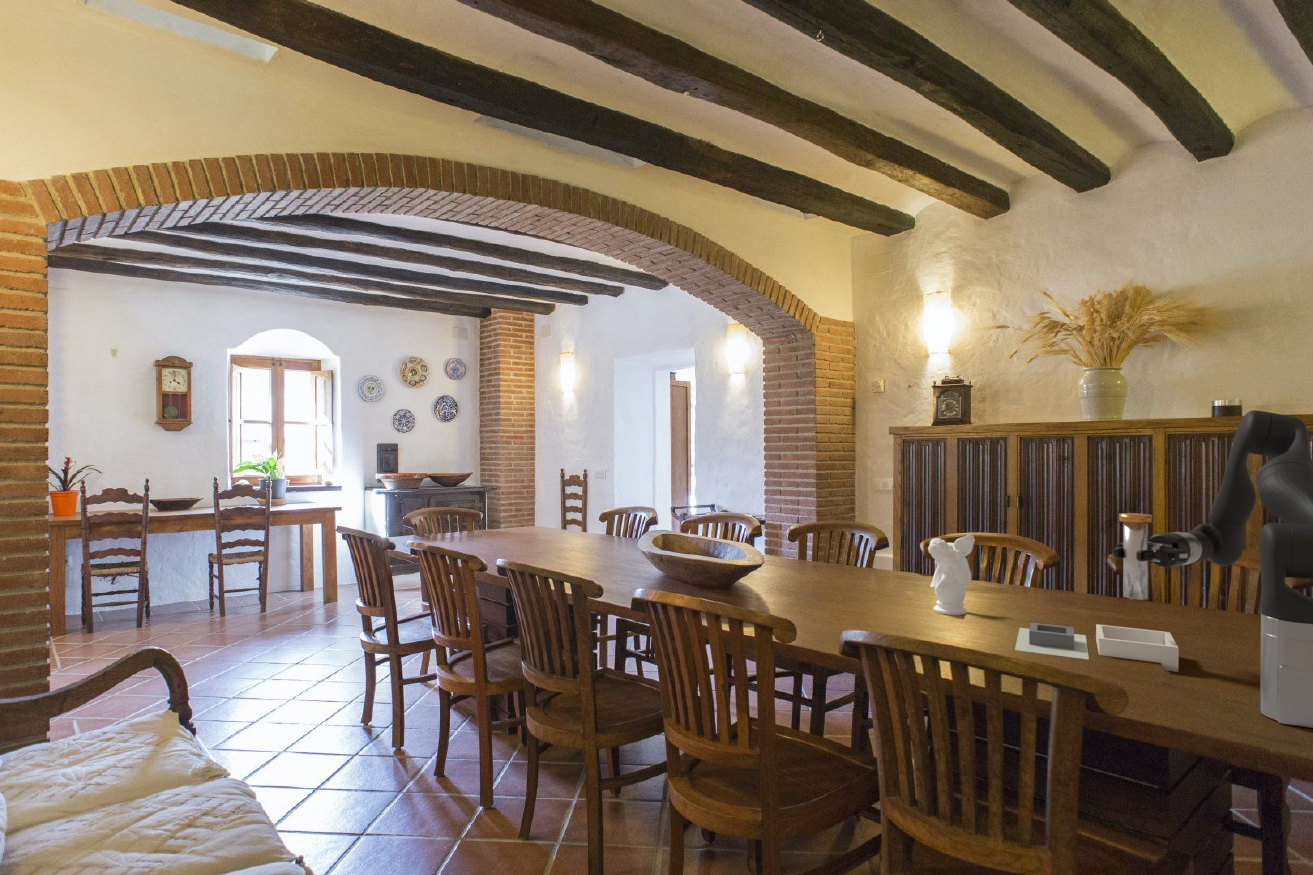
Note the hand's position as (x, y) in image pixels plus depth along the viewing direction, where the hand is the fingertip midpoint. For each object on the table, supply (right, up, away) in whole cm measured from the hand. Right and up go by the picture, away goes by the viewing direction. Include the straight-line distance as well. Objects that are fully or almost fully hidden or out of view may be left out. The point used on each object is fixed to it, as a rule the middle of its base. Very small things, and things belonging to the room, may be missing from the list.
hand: (1127, 554), depth 160 cm
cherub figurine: (-20, -23, +45) cm, 55 cm away
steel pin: (+2, -10, +1) cm, 10 cm away
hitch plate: (-12, -23, +8) cm, 27 cm away
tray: (+2, -23, +1) cm, 23 cm away
